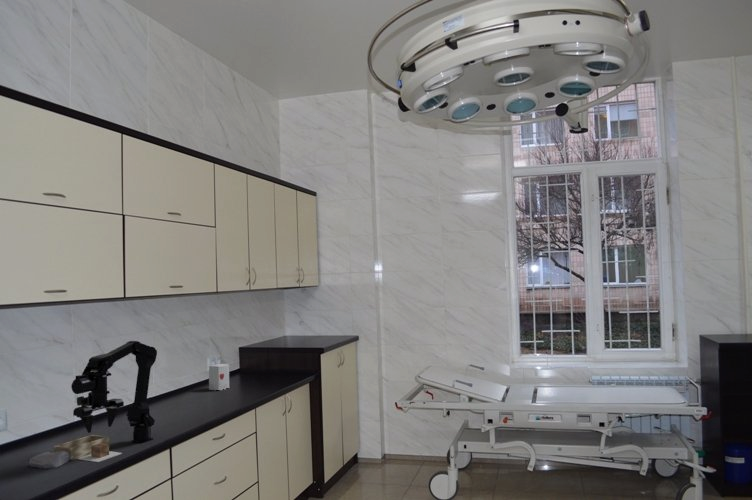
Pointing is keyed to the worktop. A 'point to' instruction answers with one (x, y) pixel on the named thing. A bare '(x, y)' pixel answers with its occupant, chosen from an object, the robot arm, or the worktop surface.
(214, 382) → the supplement box
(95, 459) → the grey mat
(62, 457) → the stone block
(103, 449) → the walnut block
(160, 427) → the worktop surface
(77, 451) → the slot box
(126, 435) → the worktop surface
